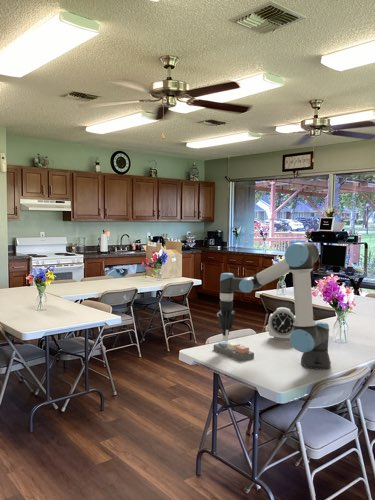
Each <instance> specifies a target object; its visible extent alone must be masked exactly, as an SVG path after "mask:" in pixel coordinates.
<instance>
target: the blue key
mask: <svg viewBox="0 0 375 500" xmlns="http://www.w3.org/2000/svg"><path fill="white" fill-rule="evenodd" d="M227 343H229V341H227V342H226V341H222V342H218V344H219V345H220V346H222V347H227Z"/></svg>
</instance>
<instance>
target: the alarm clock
mask: <svg viewBox="0 0 375 500" xmlns="http://www.w3.org/2000/svg"><path fill="white" fill-rule="evenodd" d="M295 321H296V317H295V315H294V313H293V312H292V311H291V308H287V307H282V306H281V307H277V308H276V310H275V311H273V313H270V315H269V318H268V326H267V327H268V329H267V330H268V335H269V336H270V337H273V340H276V341H288V342H290V335H291V333H292V332H293V323H294V322H295Z"/></svg>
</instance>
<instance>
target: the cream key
mask: <svg viewBox="0 0 375 500" xmlns="http://www.w3.org/2000/svg"><path fill="white" fill-rule="evenodd" d="M237 346H241V344H240V343H238V342H235V341H231V342H228V343H227V349H230V350H232V351H234V350H236V347H237Z"/></svg>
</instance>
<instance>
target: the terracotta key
mask: <svg viewBox="0 0 375 500" xmlns="http://www.w3.org/2000/svg"><path fill="white" fill-rule="evenodd" d="M249 351H250V347H248V346H246V345H243V344H242V345H240V346H237V347H236V352H237V353H240V354H246V353H249Z"/></svg>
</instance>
